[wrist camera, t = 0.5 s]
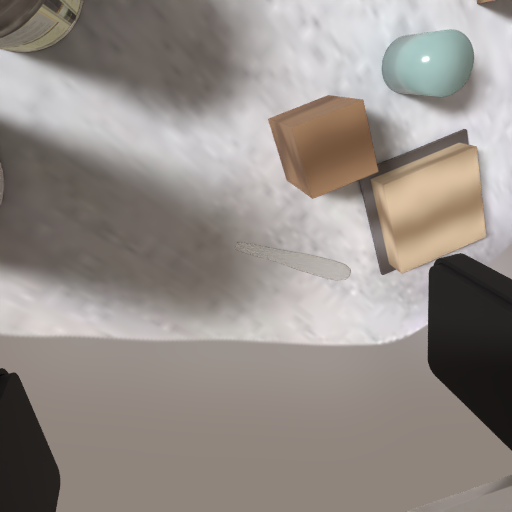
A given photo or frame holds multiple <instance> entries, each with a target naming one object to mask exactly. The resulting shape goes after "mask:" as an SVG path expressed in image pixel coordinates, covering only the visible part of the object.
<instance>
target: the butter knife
mask: <svg viewBox="0 0 512 512" xmlns="http://www.w3.org/2000/svg"><path fill="white" fill-rule="evenodd" d="M235 249H236V250H239V251H241V252H244V253H247V254H250V255H254V256H258V257H261V258H265V259H269V260H272V261H276V262H279V263H281V264H284V265H287V266H289V267H292V268H295V269H297V270H300V271H304V272H307V273H310V274H313V275H317V276H320V277H324V278H328V279H332V280H346V279H347V278H348V277H349V275H350V272H351V270H350V269H349V268H348V267H347V266H346V265H344V264H342V263H339V262H336V261H332V260H329V259H325V258H320V257H316V256H312V255H307V254H302V253H295V252H289V251H284V250H278V249H274V248H269V247H263V246H258V245H252V244H247V243H241V242H237V245H236V247H235Z"/></svg>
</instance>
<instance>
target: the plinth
mask: <svg viewBox="0 0 512 512" xmlns="http://www.w3.org/2000/svg"><path fill="white" fill-rule="evenodd" d="M377 167H378V172H377V173H374V174H372V175H369V176H367V177H364V178H362V179H360V180H359V182H360V186H361V190H362V194H363V199H364V203H365V207H366V212H367V216H368V220H369V224H370V229H371V233H372V237H373V242H374V246H375V250H376V254H377V259H378V263H379V267H380V272H381V274H382V275H384V274H387V273H389V272H391V271H393V270H396V269H397V270H398V271H399V272H401V273H404V272H407V271H409V270H411V269H414V268H416V267H418V266H420V265H423V264H425V263H427V262H430V261H432V260H434V259H436V258H439V257H441V256H443V255H446V254H448V253H450V252H452V251H455V250H457V249H459V248H462V247H464V246H466V245H468V244H471V243H473V242H475V241H478V240H480V239H482V238H484V237H486V230H485V221H484V211H483V202H482V193H481V183H480V174H479V165H478V156H477V147H476V146H472V145H468V138H467V130H466V129H463V130H461V131H458V132H456V133H453V134H451V135H448V136H446V137H444V138H441V139H439V140H436V141H434V142H431V143H429V144H426V145H424V146H422V147H419V148H417V149H414V150H412V151H409V152H407V153H405V154H402V155H400V156H397V157H395V158H392V159H390V160H387V161H385V162H383V163H380V164H378V165H377Z"/></svg>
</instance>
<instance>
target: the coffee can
mask: <svg viewBox="0 0 512 512" xmlns="http://www.w3.org/2000/svg"><path fill="white" fill-rule="evenodd" d="M82 6H83V0H0V49H4V50H8V51H15V52H31V51H37V50H41V49H44V48H47V47H49V46H52V45H54V44H56V43H57V42H58V41H60V40H61V39H63V38H64V37H65V36H66V35H67V34H68V33H69V32H70V31H71V29H72V28H73V26H74V25H75V23H76V21H77V19H78V17H79V15H80V13H81V10H82Z"/></svg>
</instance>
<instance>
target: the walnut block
mask: <svg viewBox="0 0 512 512" xmlns="http://www.w3.org/2000/svg"><path fill="white" fill-rule="evenodd" d="M268 120H269V124H270V127H271V130H272V133H273V137H274V140H275V143H276V146H277V150H278V153H279V156H280V159H281V163H282V166H283V169H284V172H285V176H286V179H287V181H289V182H290V183H291V184H293V185H294V186H296V187H297V188H298V189H300V190H301V191H303V192H304V193H305V194H307V195H308V196H310V197H311V198H312V199H313V198H316V197H318V196H321V195H323V194H326V193H328V192H330V191H333V190H335V189H338V188H340V187H343V186H345V185H347V184H350V183H352V182H355V181H357V180H360V179H362V178H364V177H367V176H369V175H372V174H374V173H377V172H378V167H377V163H376V158H375V153H374V148H373V144H372V139H371V134H370V130H369V125H368V120H367V115H366V111H365V106H364V101H363V100H361V99H353V98H345V97H337V96H329V95H328V96H326V97H323V98H320V99H318V100H315V101H313V102H310V103H308V104H305V105H302V106H300V107H297V108H295V109H292V110H290V111H287V112H285V113H282V114H279V115H277V116H274V117H272V118H269V119H268Z"/></svg>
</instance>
